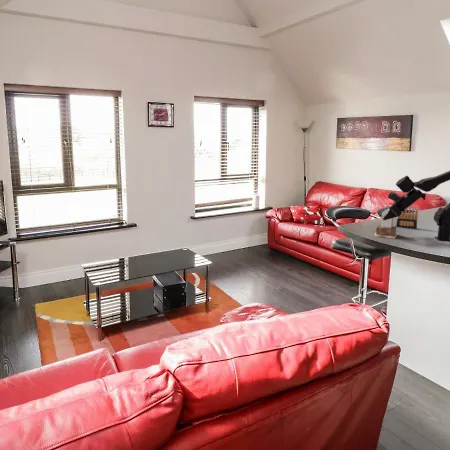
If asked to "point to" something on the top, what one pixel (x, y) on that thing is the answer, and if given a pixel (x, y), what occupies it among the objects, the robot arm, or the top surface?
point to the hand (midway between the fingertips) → (384, 218)
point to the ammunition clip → (408, 219)
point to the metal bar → (386, 221)
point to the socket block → (386, 232)
